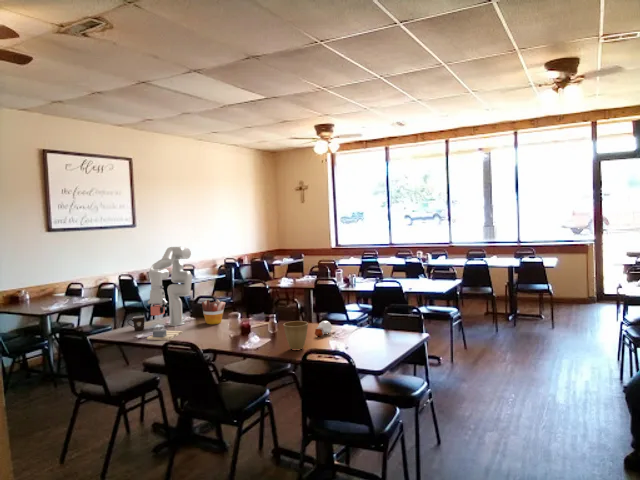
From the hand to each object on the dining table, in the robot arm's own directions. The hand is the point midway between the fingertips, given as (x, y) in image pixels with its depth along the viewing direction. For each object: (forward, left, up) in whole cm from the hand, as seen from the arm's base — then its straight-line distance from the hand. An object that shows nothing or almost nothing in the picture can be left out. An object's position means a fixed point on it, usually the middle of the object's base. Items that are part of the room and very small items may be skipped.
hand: (157, 312), depth 354 cm
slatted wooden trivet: (+5, +8, -16) cm, 18 cm away
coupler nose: (+12, +8, -14) cm, 20 cm away
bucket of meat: (-40, +24, -16) cm, 49 cm away
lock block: (0, 0, -1) cm, 1 cm away
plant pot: (+29, +110, -16) cm, 115 cm away
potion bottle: (-9, +119, -16) cm, 120 cm away
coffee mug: (-11, -24, -16) cm, 31 cm away
